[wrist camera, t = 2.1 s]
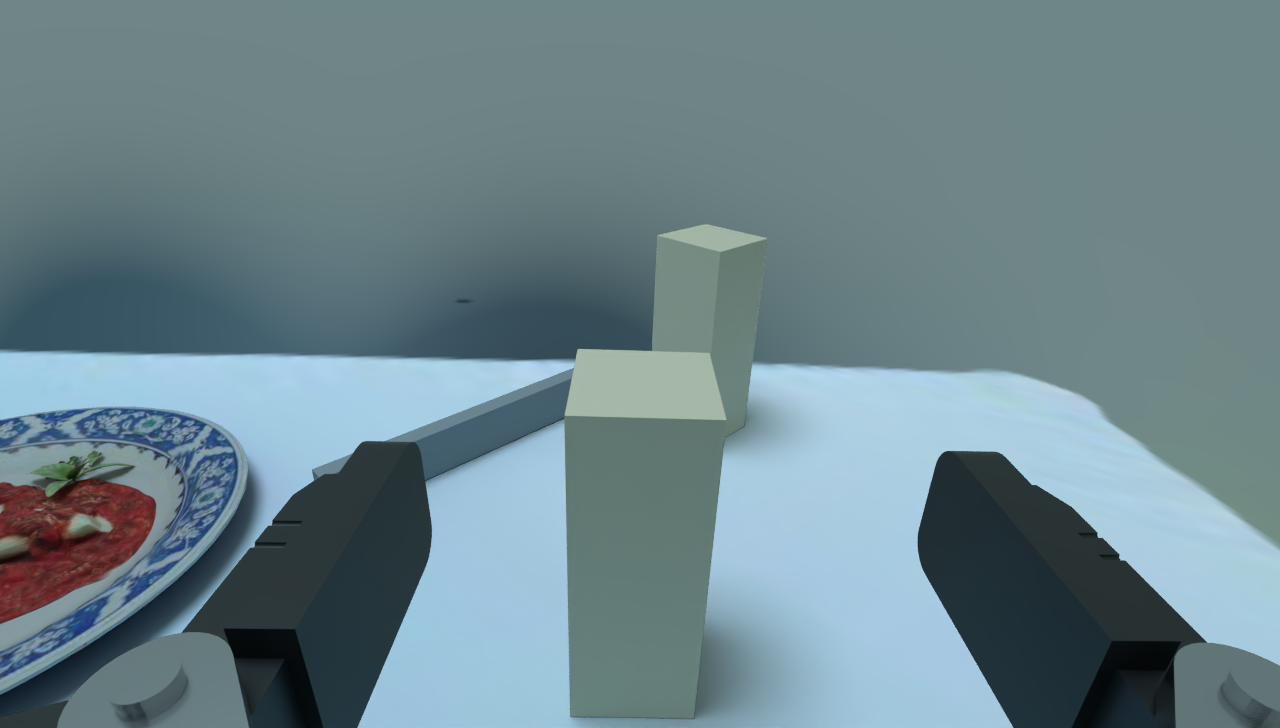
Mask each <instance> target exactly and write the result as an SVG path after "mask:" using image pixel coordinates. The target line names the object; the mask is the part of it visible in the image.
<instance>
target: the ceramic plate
mask: <svg viewBox="0 0 1280 728" xmlns="http://www.w3.org/2000/svg"><path fill="white" fill-rule="evenodd" d="M247 476H248V465H247V457H246V455H245V453H244V450H243V448H242V445H241V444H240V443H239V441H238V440H237V439H236V438H235V437H234V436H233V435H232V434H231V433H230V432H229V431H227V430H226V429H224V428H223V427H221V426H220V425H218V424H216V423H214V422H212V421H210V420H207V419H204V418H201V417H198V416H195V415H191V414H188V413H184V412H180V411H174V410H165V409H154V408H143V407H96V408H83V409H71V410H60V411H51V412H43V413H36V414H30V415H25V416H19V417H14V418H8V419H2V420H0V695H1V694H3V693H5V692H7V691H9V690H10V689H12V688H14V687H16V686H18V685H20V684H22V683H24V682H26V681H27V680H29V679H31V678H33V677H35V676H36V675H38V674H40V673H42V672H44V671H45V670H47V669H49V668H50V667H52V666H54V665H55V664H57V663H59V662H61V661H62V660H64V659H66V658H67V657H69V656H71V655H72V654H74V653H76V652H77V651H79V650H81V649H82V648H84V647H86V646H87V645H89V644H90V643H92V642H93V641H95V640H96V639H98V638H99V637H101V636H102V635H104V634H105V633H107V632H108V631H110V630H111V629H113V628H114V627H116V626H117V625H119V624H120V623H122V622H123V621H125V620H126V619H127V618H129V617H130V616H132V615H133V614H134V613H136V612H137V611H138V610H140V609H141V608H142V607H144V606H145V605H146V604H148V603H149V602H150V601H152V600H153V599H154V598H155V597H156V596H158V595H159V594H160V593H161V592H163V591H164V590H165V589H166V588H167V587H169V586H170V585H171V584H172V583H174V582H175V581H176V580H177V579H178V578H179V577H180V576H181V575H182V574H183V573H184V572H186V571H187V570H188V569H189V568H190V567H191V566H192V565H193V564H194V563H195V562H196V561H197V560H198V559H199V558H200V557H201V556H202V555H203V554H204V553H205V552H206V551H207V549H208V548H209V547H210V546H211V545H212V544H213V543H214V542H215V540H216V539H217V538H218V537H219V535H220V534H221V533H222V531H223V530H224V529H225V528H226V526H227V525H228V523H229V522H230V520H231V518H232V517H233V515H234V514H235V512H236V510H237V508H238V506H239V504H240V501H241V499H242V497H243V495H244V492H245V490H246V483H247Z"/></svg>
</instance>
